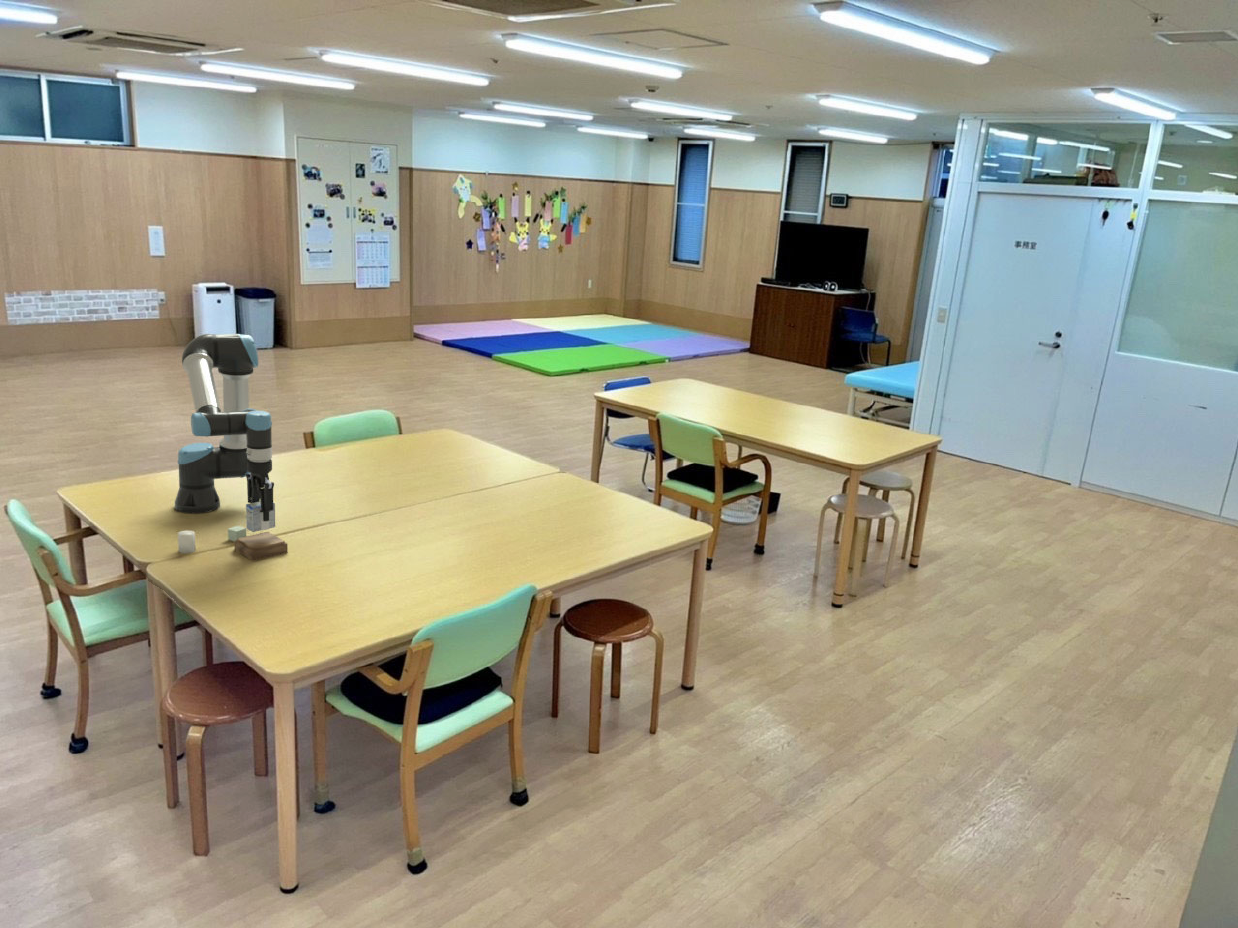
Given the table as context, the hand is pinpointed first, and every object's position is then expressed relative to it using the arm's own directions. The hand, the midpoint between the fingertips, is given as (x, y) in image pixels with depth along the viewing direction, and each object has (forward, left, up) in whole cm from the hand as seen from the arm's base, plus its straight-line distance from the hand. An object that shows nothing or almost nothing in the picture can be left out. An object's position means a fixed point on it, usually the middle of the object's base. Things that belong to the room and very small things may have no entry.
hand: (260, 527), depth 297 cm
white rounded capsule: (-14, -18, -9) cm, 24 cm away
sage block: (-14, -1, -9) cm, 17 cm away
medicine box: (0, 0, -1) cm, 1 cm away
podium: (0, 0, -8) cm, 8 cm away
